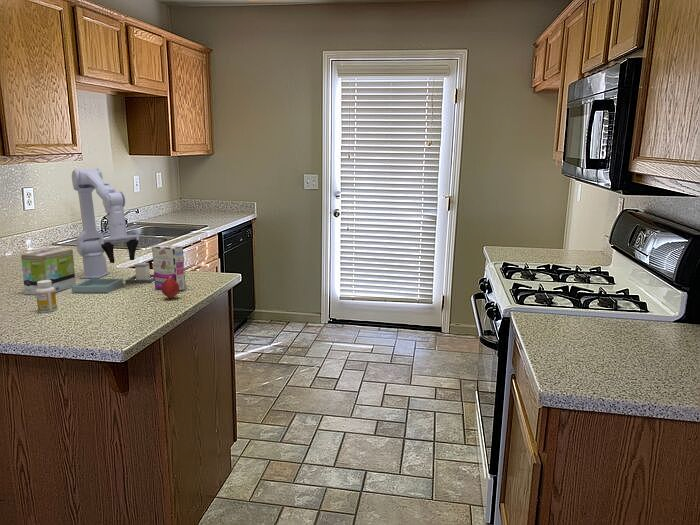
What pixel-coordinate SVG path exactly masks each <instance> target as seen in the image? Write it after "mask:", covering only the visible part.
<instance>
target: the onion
mask: <svg viewBox="0 0 700 525" xmlns="http://www.w3.org/2000/svg"><path fill="white" fill-rule="evenodd" d="M161 292H162V294H163V295H164V296H165V297H167V298H168V299H171V300H173V299H174V298H175V297H176V296H177V295H178V294H179V293H180V291H179V284H178V283H177V282H176V281H175V280H173V279H172V276H170V277H169V278H168V279H167V280H166V281H165V282H164V283H163V285H162V290H161Z"/></svg>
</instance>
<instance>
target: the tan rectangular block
mask: <svg viewBox="0 0 700 525" xmlns="http://www.w3.org/2000/svg"><path fill="white" fill-rule="evenodd" d="M134 269H135V275H136V280H149V279H150V275H151V271H150V270H151V269H150V263H149V262H137V263H136V264H134Z"/></svg>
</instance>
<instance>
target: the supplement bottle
mask: <svg viewBox="0 0 700 525" xmlns="http://www.w3.org/2000/svg"><path fill="white" fill-rule="evenodd" d="M51 285H52V282H51V280H42V281H38V282H37V286H38V287H39V288H37V289H36V295H35V296H36V303H37V312H39V313H42V314H43V313H44V314H45V313H52V312H55V311H56V310H57V309H58V306H57V296H56V292H55V289H54V287H51Z"/></svg>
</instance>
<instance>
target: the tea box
mask: <svg viewBox="0 0 700 525" xmlns="http://www.w3.org/2000/svg"><path fill="white" fill-rule="evenodd" d="M20 256H21V257H20V258H21V267H22V268H21V269H22V280H23V289H24V294H25V295H33V296H34V295H35V296H36V289H37V288H39V287H38V286H37V282H38V281H42V280H51V282H52V285H51V287H54V289H55V293H57V292H60V291H64V290H68V289H72V288H71V287H72V286H74V285H76V284H77V283H76V273H75V272H76V270H75V261H74V260H75V259H74V251H73V249H71V248H46V249H42V250H37V251H32V252H28V253H23V254H20Z"/></svg>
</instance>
